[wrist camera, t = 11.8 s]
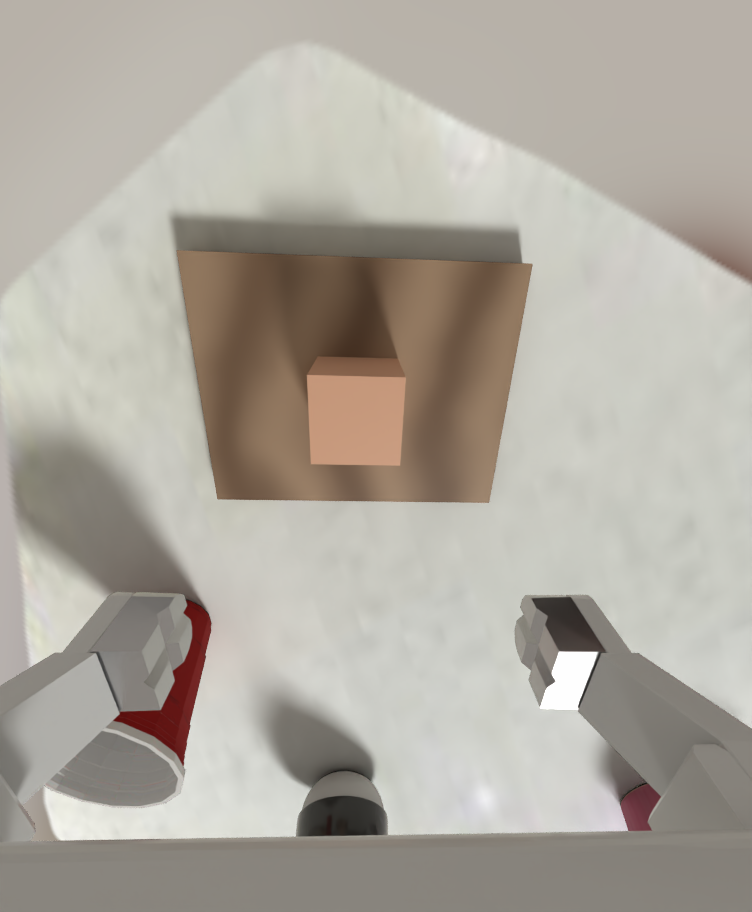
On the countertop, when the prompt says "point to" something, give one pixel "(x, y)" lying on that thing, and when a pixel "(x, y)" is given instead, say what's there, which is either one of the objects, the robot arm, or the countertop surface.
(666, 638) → the countertop surface
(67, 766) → the plastic cup
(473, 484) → the walnut board
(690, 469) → the countertop surface
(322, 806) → the black glossy tall piece
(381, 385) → the cube
